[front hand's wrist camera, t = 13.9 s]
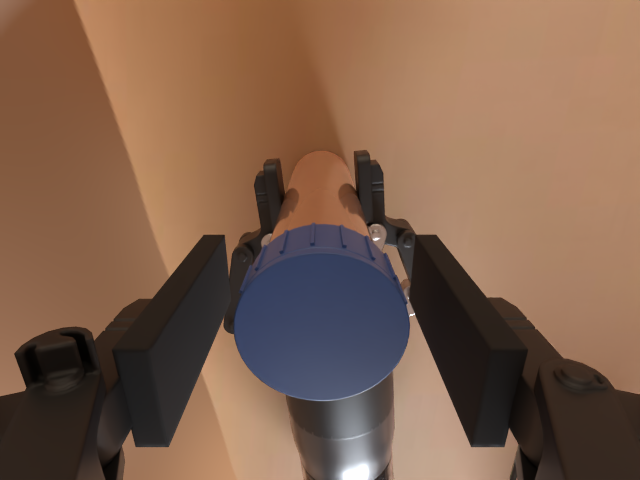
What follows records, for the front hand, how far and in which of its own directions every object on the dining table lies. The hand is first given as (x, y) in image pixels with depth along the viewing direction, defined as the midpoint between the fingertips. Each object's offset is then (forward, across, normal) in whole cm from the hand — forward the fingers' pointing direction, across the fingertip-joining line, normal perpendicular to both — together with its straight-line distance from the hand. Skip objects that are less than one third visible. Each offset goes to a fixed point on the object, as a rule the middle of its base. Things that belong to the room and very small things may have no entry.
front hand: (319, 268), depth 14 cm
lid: (-4, 0, 0) cm, 4 cm away
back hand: (+8, 0, -3) cm, 9 cm away
